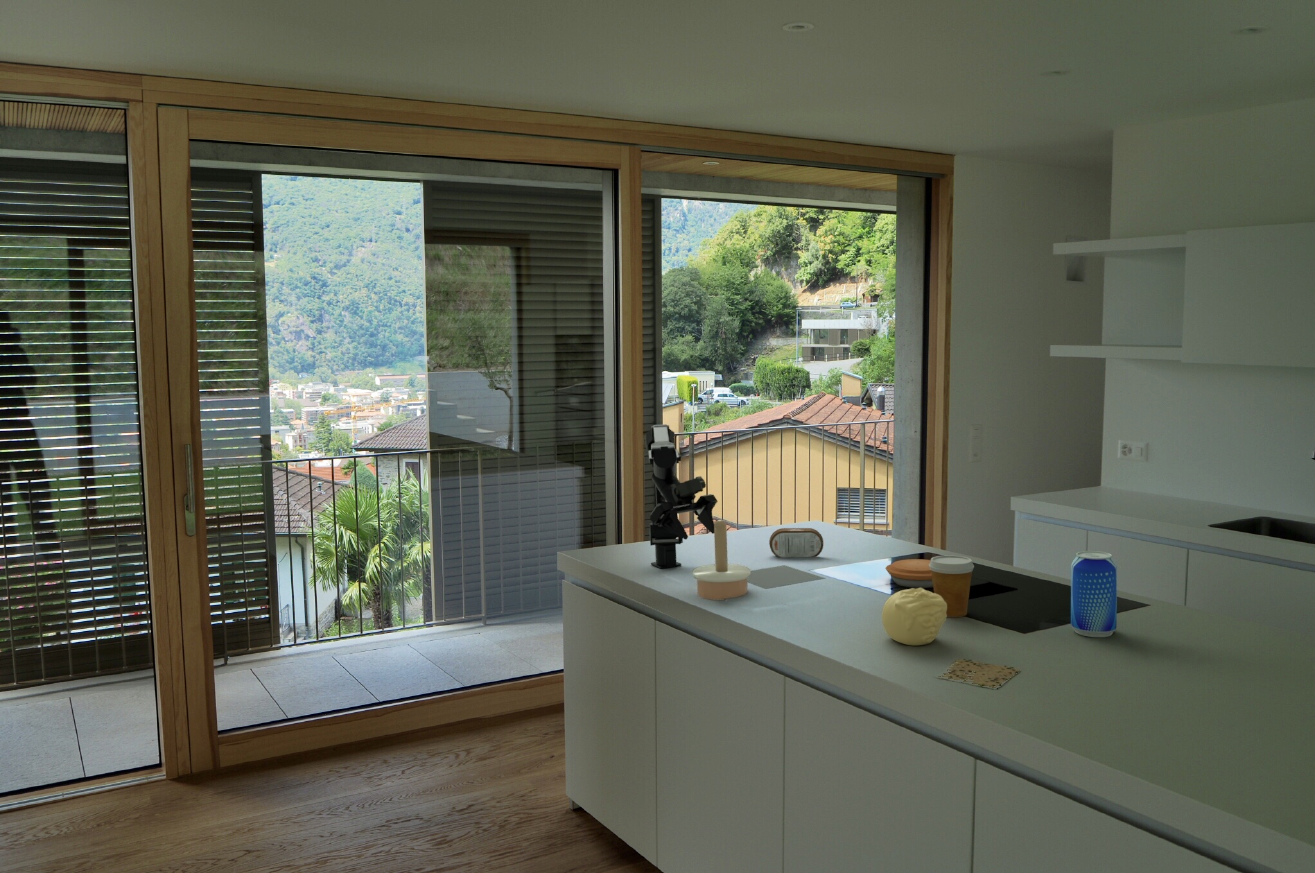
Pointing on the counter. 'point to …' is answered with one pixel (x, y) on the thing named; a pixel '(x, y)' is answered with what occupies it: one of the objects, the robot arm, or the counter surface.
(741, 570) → the lid
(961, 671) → the cookie
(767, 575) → the mat
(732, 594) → the bowl
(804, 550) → the tin
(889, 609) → the pale yellow lumpy ball
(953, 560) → the disposable coffee cup
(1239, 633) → the counter surface
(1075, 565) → the beer can
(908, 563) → the pie
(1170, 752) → the counter surface
